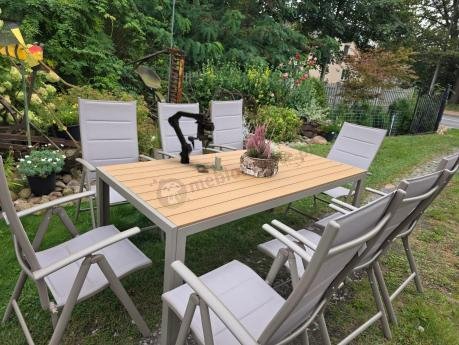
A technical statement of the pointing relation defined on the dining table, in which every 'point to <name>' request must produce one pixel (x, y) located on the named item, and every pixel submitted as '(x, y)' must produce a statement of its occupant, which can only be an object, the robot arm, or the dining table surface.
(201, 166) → the frame
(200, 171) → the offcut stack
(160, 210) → the dining table surface
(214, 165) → the holder
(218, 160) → the long rectangular block
